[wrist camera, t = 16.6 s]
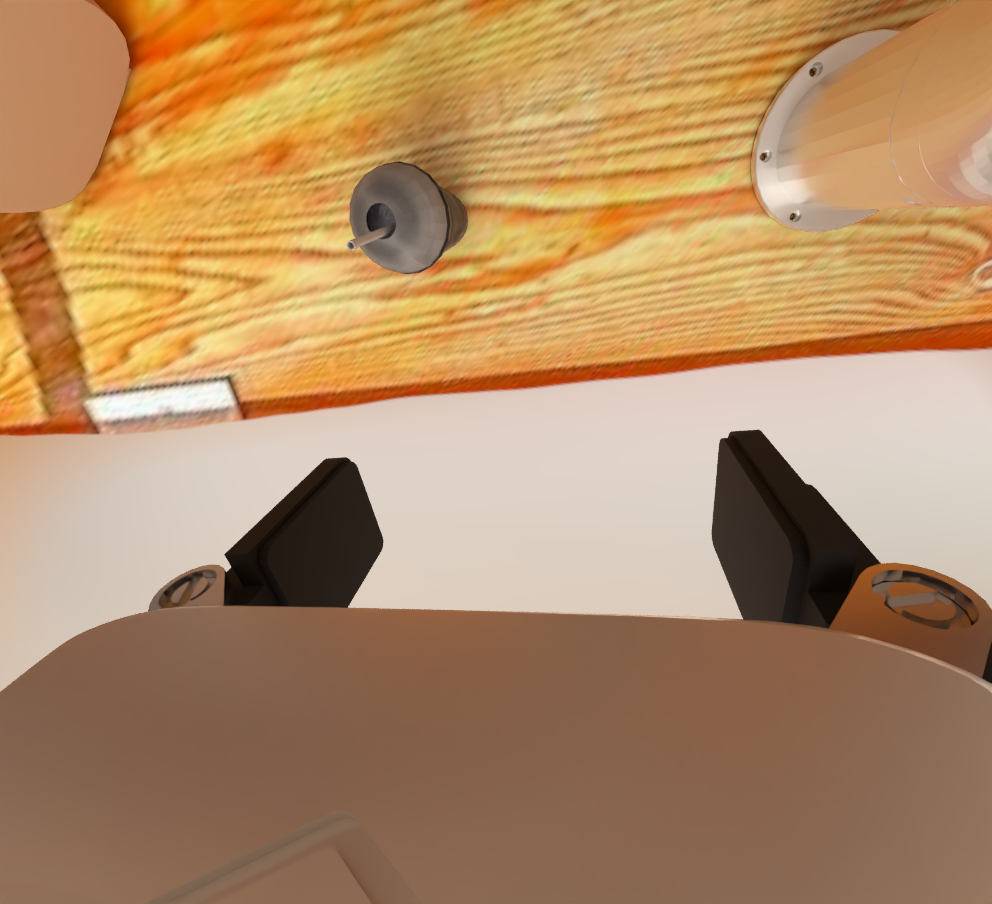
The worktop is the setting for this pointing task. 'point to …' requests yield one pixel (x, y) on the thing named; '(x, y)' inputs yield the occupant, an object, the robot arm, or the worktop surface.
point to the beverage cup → (404, 218)
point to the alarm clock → (55, 98)
